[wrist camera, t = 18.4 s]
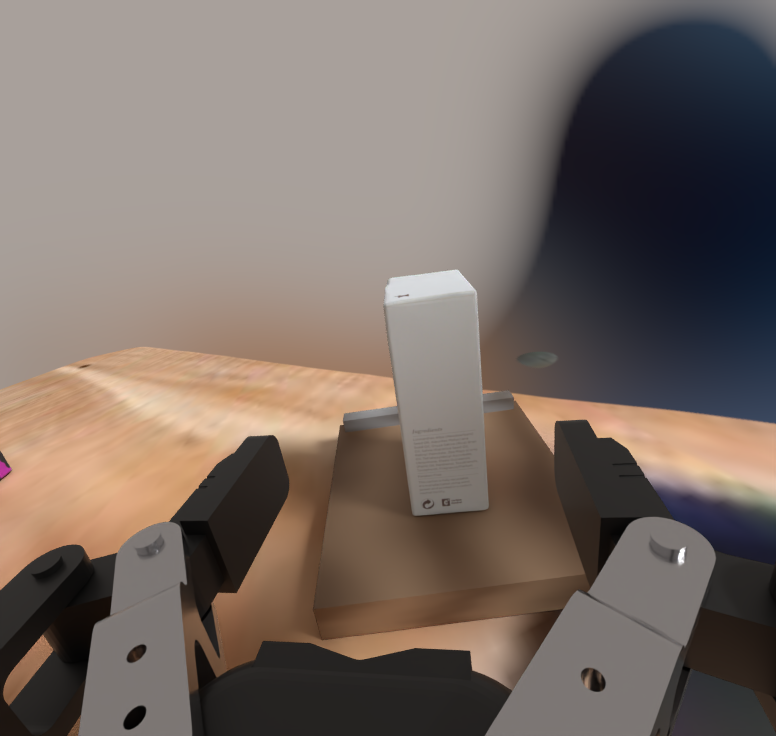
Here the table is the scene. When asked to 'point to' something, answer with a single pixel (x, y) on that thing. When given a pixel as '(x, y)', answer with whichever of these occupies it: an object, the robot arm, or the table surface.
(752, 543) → the table surface
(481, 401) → the skincare box
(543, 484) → the walnut riser
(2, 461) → the candy bar box
